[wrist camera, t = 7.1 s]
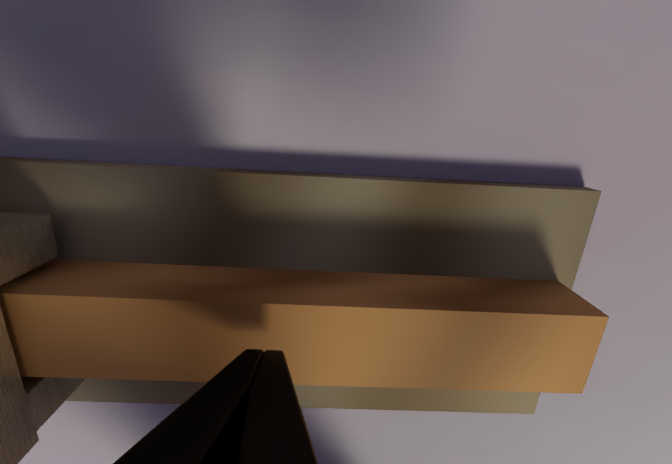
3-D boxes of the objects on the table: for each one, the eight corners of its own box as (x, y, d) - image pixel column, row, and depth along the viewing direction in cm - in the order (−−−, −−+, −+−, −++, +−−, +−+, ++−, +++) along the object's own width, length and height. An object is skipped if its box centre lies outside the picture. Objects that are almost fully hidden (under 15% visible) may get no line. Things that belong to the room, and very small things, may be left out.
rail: (585, 187, 10) (811, 247, 5) (524, 400, 13) (641, 569, 8) (-193, 146, 9) (-726, 176, 5) (-94, 382, 12) (-374, 557, 7)
